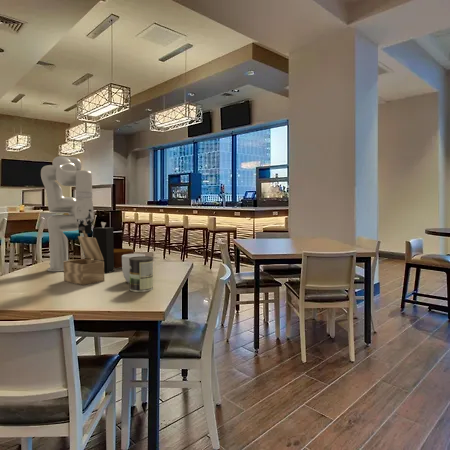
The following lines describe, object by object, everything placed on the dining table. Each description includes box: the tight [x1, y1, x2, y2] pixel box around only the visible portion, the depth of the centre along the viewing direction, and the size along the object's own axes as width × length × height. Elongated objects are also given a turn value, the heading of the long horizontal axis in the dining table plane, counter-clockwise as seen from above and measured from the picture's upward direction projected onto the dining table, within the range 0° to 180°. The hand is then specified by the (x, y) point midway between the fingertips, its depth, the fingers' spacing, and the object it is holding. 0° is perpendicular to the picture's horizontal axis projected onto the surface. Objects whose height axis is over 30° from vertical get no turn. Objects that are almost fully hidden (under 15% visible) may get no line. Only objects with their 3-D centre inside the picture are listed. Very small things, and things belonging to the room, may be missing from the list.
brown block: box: [114, 248, 135, 269], centre depth 215 cm, size 18×18×10 cm
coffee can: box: [129, 255, 154, 293], centre depth 158 cm, size 10×10×14 cm
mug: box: [121, 253, 146, 284], centre depth 175 cm, size 15×11×13 cm
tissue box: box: [92, 221, 115, 274], centre depth 199 cm, size 8×8×28 cm
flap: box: [77, 227, 104, 260], centre depth 177 cm, size 15×18×2 cm
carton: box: [63, 258, 105, 286], centre depth 176 cm, size 16×12×10 cm
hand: (85, 232), depth 175 cm, fingers closed on flap, 5 cm apart
